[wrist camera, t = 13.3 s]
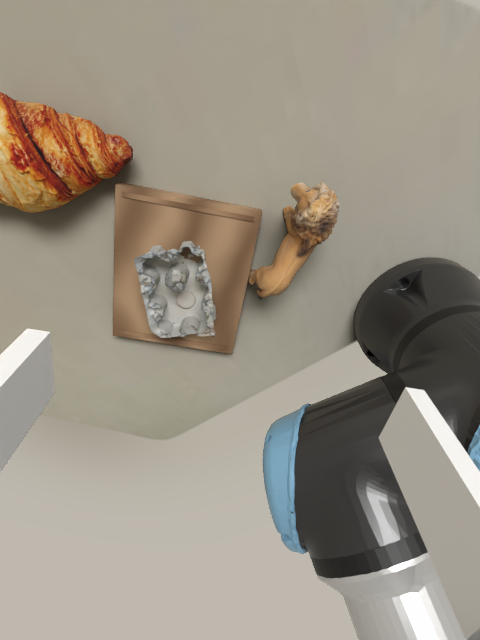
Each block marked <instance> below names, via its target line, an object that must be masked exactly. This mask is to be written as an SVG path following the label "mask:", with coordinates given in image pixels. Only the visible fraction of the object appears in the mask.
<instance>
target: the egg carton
mask: <svg viewBox="0 0 480 640" xmlns="http://www.w3.org/2000/svg"><path fill="white" fill-rule="evenodd" d="M184 247H189V248H190V250H191V252H192V254H194V255H196V256H197V257H199V256H201V257H202V259H203V260H201V261H199V263H198V264H197V263H196V262H195V261H192V260H188V259H184V256H182V255H180V252H182V249H183V248H184ZM192 254H189V255H188V257H189V258H190V257H193V255H192ZM205 260H206V257H205V251H204V250H203V249H200V246H199V245H198V246H195V245H194V244H193V242H192V241H186V242H182V245H181V247H180V250H177V249H170V250H168V251H165V250H164V249H163V248H162V246H161V245H157V246H152V248H151V249H150V251H149V252H148V253H146V254H143V255H141V256H138V257H136V258H134V262H135V266H136V270H137V273H138V276H139V283H140V285H141V294H142V297H143V300H144V305H145V308H146V312H147V318H148V322H149V326H150V329H151V331H152V332H153V333H154V334H156V335H157V336H159V337H160V338H171V337H176V336H180V337H184V336H186V335H187V334H197V336H211V337H214V336H215V330H214V322H213V321H214V320H215V319H216V307H215V305H214V304H213V300H212V284H211V279H210V275H209V271H208V268H207V264H206V261H205ZM182 262H184V264H183V263H182ZM186 265H187V266H186ZM201 320H202V322H201ZM173 322H174V323H175V324H174V323H173Z"/></svg>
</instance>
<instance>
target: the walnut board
mask: <svg viewBox="0 0 480 640" xmlns="http://www.w3.org/2000/svg"><path fill="white" fill-rule="evenodd" d="M261 216H262V210H261V209H255V208H250V207H245V206H240V205H235V204H230V203H224V202H219V201H214V200H209V199H204V198H199V197H194V196H188V195H183V194H178V193H173V192H168V191H163V190H157V189H152V188H147V187H142V186H137V185H132V184H127V183H121V182H119V183H117V184H115V239H114V298H113V336H119V337H126V338H132V339H139V340H145V341H151V342H158V343H164V344H171V345H177V346H183V347H190V348H196V349H202V350H209V351H215V352H222V353H228V354H232V352H233V347H234V342H235V338H236V333H237V328H238V324H239V319H240V314H241V310H242V305H243V300H244V296H245V291H246V286H247V282H248V277H249V272H250V268H251V263H252V258H253V254H254V249H255V244H256V240H257V235H258V230H259V226H260V221H261ZM186 241H192V242H193V244H194V245H195V246H198V245H199V246H200V249H203V250H204V251H205V257H206V260H205V261H206V264H207V268H208V271H209V275H210V279H211V284H212V300H213V304H214V305H215V307H216V319H215V320H214V321H213V322H214V330H215V336H214V337H211V336H197V334H187V335H186V336H184V337H180V336H176V337H171V338H160V337H159V336H157V335H156V334H154V333H153V332H152V331H151V329H150V326H149V322H148V318H147V312H146V308H145V305H144V300H143V297H142V294H141V285H140V283H139V276H138V273H137V270H136V266H135V262H134V258H136V257H138V256H141V255H143V254H146V253H148V252H149V251H150V249H151V248H152V246H157V245H161V246H162V248H163V249H164V250H165V251H168V250H170V249H177V250H180V247H181V245H182V242H186ZM189 254H192V252H191V250H190V248H189V247H184V248H183V249H182V252H180V255H182V256H184V259H188V260H192V261H195V262H196V263H197V264H198V263H199V261H201V260H203V259H202V257H201V256H199V257H197V256H196V255H194V254H192V255H193V257H190V258H189V257H188V255H189ZM182 263H183V264H184V262H182ZM186 266H187V265H186ZM201 322H202V320H201ZM173 323H174V322H173ZM174 324H175V323H174Z"/></svg>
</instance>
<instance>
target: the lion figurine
mask: <svg viewBox="0 0 480 640" xmlns="http://www.w3.org/2000/svg"><path fill="white" fill-rule="evenodd" d="M291 195H292V197H293V198H295V199H296V201H297V205H296V207H295V210H294V209H293V208H292V207H291V206H290V207H286V208H284V209H283V214H284V218H285V220H286V225H287V231H288V232H289V233H288V234H287V235H286V236H285V238H284V239H283V241H282V243H281V245H280V247H279V249H278V251H277V253H276V256H275V259H274V262H273V264H272V265H270V266H264V267H261V268H259V269H257V270H250V272H249V277H248V280H249V283H250V284H251V285H254V284H255V283H257V285H258V287H259V289H257V294H258V298H259V299H262V297H267V296H269V295H279V294H280V293H282V292H283V291H284V290H285V289H286V288H287V287H288V286H289V285H290V283H291V281H292V279H293V277H294V275H295V274H296V273H297V271H298V270H299V269H300V268H301V266H302V265H303V264H304V263H305V261H306V260H307V259H308V257H309V256H310V254H311V253H312V251H313V249H314V247H315V246H316V245H318V244H321V243H322V242H323V241H325V240H326V239H327V238H328V237H329V234H331V233H332V228H333V227H334V224H335V223H336V222H337V219H336V217H337V213H338V211H339V206H340V204H339V203H338V202H337V198H336V195H335V193H334V191H331V190H330V189H329V188H328V187H327V186H326V185H324V183H321V184H318V185H316V186H313V187H312V188H309V187H307V186H306V185H305V184H304V183H302V182H301V183H297V184H294V185H293V186H292V187H291Z"/></svg>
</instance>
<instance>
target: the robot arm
mask: <svg viewBox="0 0 480 640" xmlns="http://www.w3.org/2000/svg"><path fill="white" fill-rule="evenodd" d="M354 331H355V335H356V338H357V341H358V343H359V344H360V347H361V348H362V350H363V352H364V353H365V355H366V356H367V357H368V359H369V360H370V361H371V362H372V363H374V364H375V365H376V366H378V367H379V368H380V369H382V370H383V371H385V372H386V373H388V374H387V375H385V376H382V377H379V378H376V379H374V380H371V381H369V382H367V383H364V384H362V385H359V386H357V387H354V388H352V389H349V390H347V391H344V392H342V393H339V394H337V395H334V396H332V397H330V398H327V399H325V400H322V401H320V402H317V403H315V404H312V405H311V404H305V405H303V406H302V407H301V409H299V410H297V411H295V412H293V413H290V414H288V415H286V416H284V417H282V418H280V419H278V420H276V421H275V422H274V423H273V424H272V425H271V426H270V428H269V430H268V432H267V435H266V438H265V443H264V450H263V473H264V482H265V489H266V494H267V499H268V504H269V508H270V511H271V515H272V518H273V521H274V524H275V527H276V529H277V531H278V532H279V533H281V538H282V541H283V543H284V544H285V546H286V547H287V548H289V550H291V551H294V552H299V553H301V554H304V553H306V552H309V554H310V557H311V559H312V562H313V565H314V568H315V571H316V574H317V576H318V578H319V579H320V580H321V581H323V582H324V583H326V584H327V585H329V586H331V587H332V588H334V589H335V590H337V591H339V592H340V593H341V594H342V595H343V597H344V599H345V602H346V605H347V608H348V611H349V614H350V616H351V619H352V622H353V625H354V628H355V630H356V633H357V636H358V639H359V640H480V280H479V279H478V278H477V277H476V276H475V275H474V274H473V273H472V272H470V271H469V270H467V269H466V268H464V267H463V266H461V265H459V264H457V263H455V262H453V261H450V260H447V259H442V258H420V259H415V260H411V261H407V262H405V263H402V264H400V265H397V266H395V267H393V268H392V269H390V270H388V271H387V272H385V273H384V274H382V275H381V276H380V277H379V278H377V279H376V280H375V281H374V282H373V283H372V284H371V285H370V286H369V287H368V289H367V290H366V291H365V293H364V294H363V296H362V297H361V299H360V301H359V303H358V306H357V309H356V312H355V317H354ZM54 393H55V384H54V372H53V360H52V348H51V336H50V332H46V331H40V330H33V329H26V330H25V331H24V332H23V333H22V334H21V335H20V336H19V337H18V338H17V339H16V340H15V341H14V342H13V343H12V344H11V345H10V346H9V347H8V348H7V349H6V350H5V351H4V352H3V353H2V354H1V355H0V472H1V471H2V469H3V468H4V466H5V465H6V463H7V462H8V460H9V459H10V458H11V456H12V455H13V453H14V452H15V450H16V449H17V447H18V446H19V444H20V443H21V441H22V440H23V439H24V437H25V436H26V434H27V433H28V431H29V430H30V428H31V427H32V425H33V424H34V423H35V421H36V420H37V418H38V417H39V415H40V414H41V412H42V411H43V409H44V408H45V406H46V405H47V404H48V402H49V401H50V399H51V398H52V396H53V395H54Z"/></svg>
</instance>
